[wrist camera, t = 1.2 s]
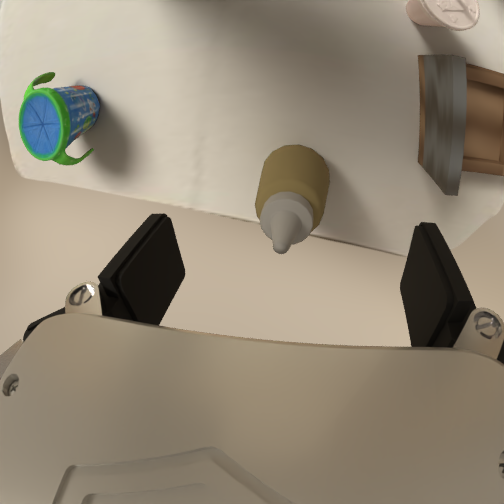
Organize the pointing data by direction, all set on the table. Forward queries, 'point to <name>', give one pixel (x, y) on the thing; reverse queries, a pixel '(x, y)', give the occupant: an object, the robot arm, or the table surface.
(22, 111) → the snack cup
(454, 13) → the smoothie
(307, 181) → the squeeze bottle
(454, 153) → the display stand
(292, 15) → the table surface
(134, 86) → the table surface
